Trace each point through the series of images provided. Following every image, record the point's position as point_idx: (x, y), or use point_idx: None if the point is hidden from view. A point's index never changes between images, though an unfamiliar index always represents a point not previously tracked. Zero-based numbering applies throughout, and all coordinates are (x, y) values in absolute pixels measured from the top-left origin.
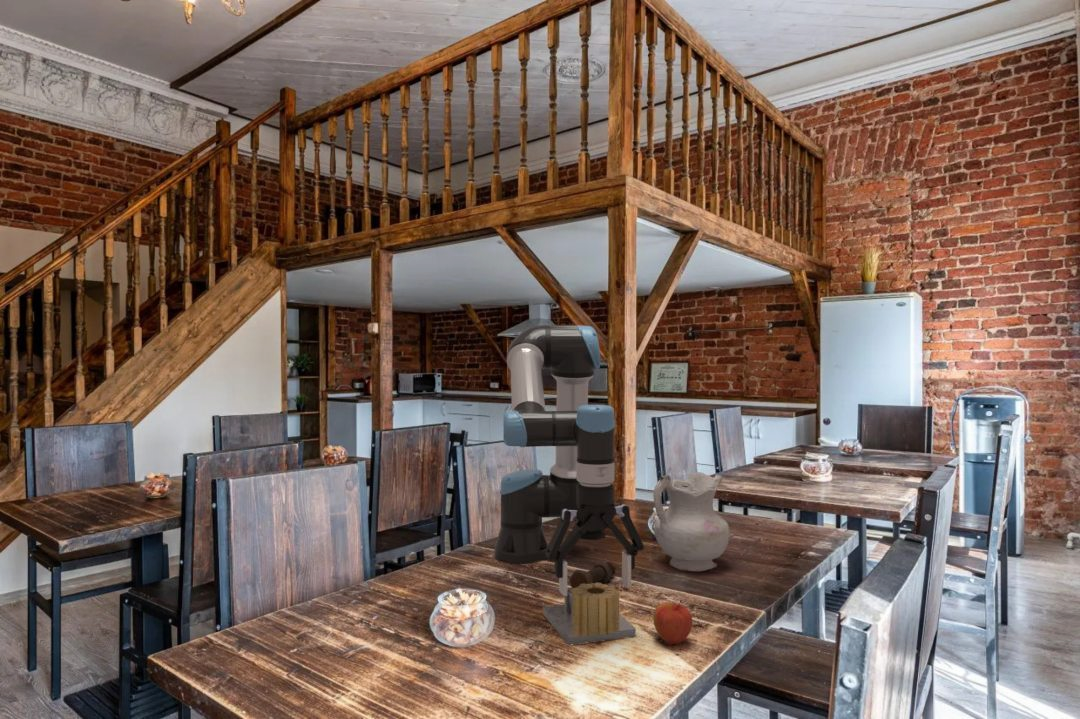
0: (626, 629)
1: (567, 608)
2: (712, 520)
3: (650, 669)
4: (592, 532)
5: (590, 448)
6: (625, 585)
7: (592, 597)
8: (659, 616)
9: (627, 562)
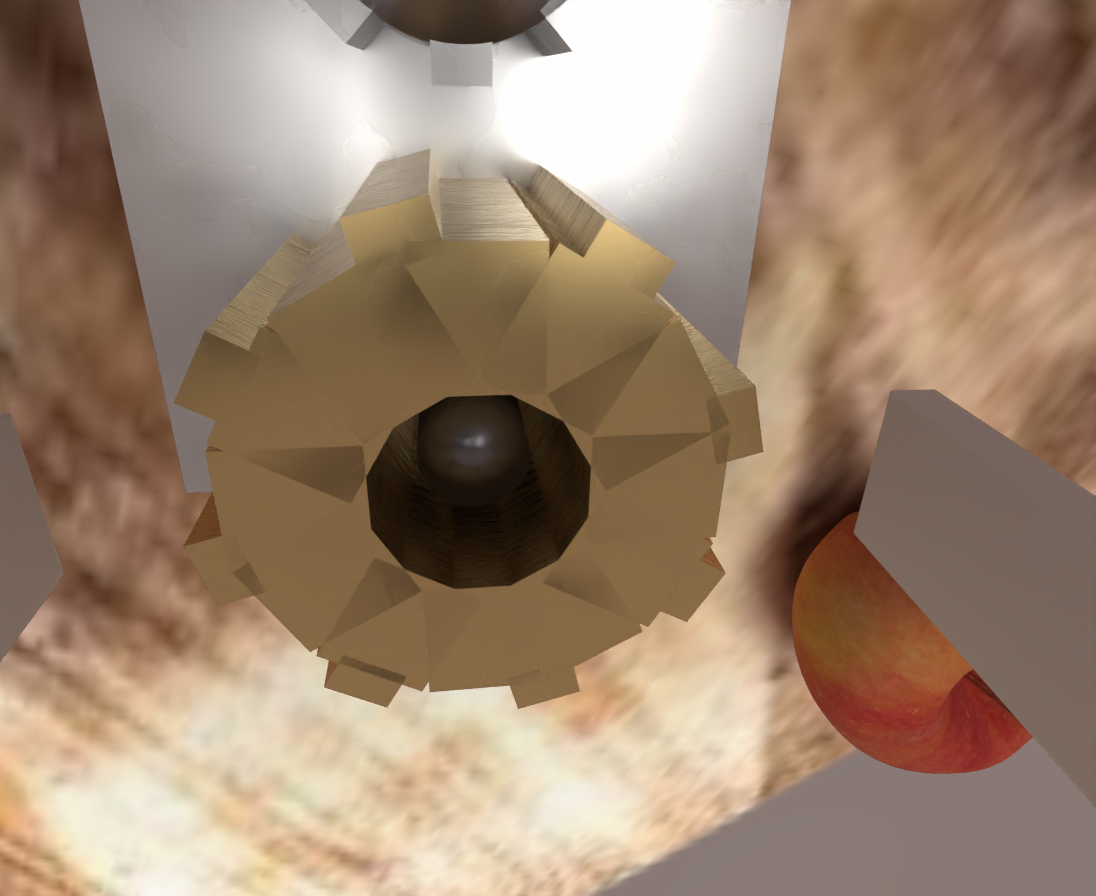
0: None
1: None
2: None
3: (569, 764)
4: None
5: None
6: (871, 490)
7: (367, 661)
8: (838, 710)
9: (1077, 779)
